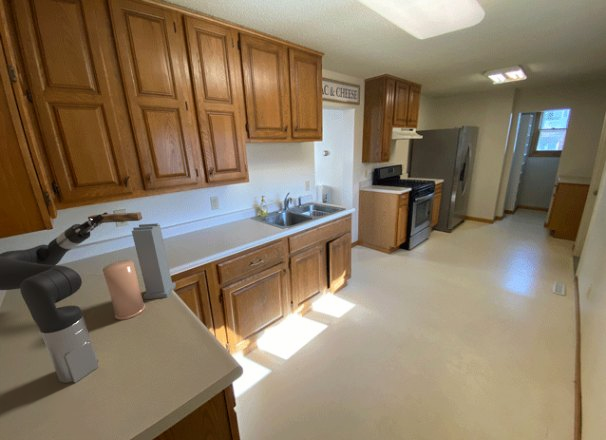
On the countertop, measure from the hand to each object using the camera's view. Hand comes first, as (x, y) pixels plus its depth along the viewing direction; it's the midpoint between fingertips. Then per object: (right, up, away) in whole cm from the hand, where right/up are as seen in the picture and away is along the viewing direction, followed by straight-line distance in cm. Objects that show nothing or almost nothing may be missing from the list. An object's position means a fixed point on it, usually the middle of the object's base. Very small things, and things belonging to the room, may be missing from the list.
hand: (104, 215), depth 109 cm
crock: (+13, -40, -2) cm, 42 cm away
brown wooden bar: (+4, -3, +1) cm, 5 cm away
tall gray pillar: (+18, -36, +12) cm, 42 cm away
